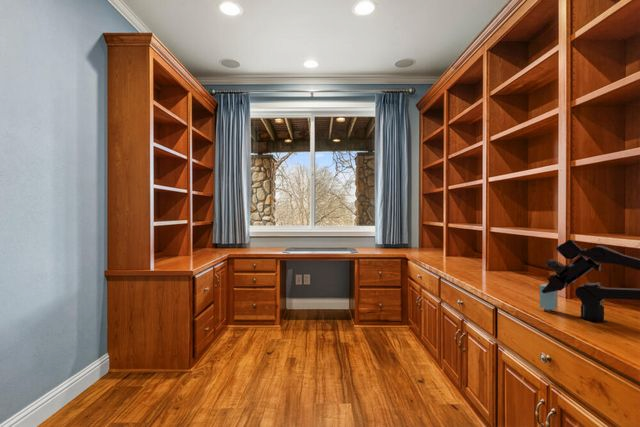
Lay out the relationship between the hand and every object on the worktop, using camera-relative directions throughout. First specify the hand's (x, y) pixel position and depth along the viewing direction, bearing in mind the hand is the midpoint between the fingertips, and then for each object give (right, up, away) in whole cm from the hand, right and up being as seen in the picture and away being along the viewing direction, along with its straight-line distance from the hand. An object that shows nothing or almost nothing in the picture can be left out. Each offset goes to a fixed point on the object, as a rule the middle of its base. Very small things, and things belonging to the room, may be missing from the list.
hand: (544, 291), depth 138 cm
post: (+1, -8, -1) cm, 8 cm away
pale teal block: (+1, -7, -1) cm, 7 cm away
